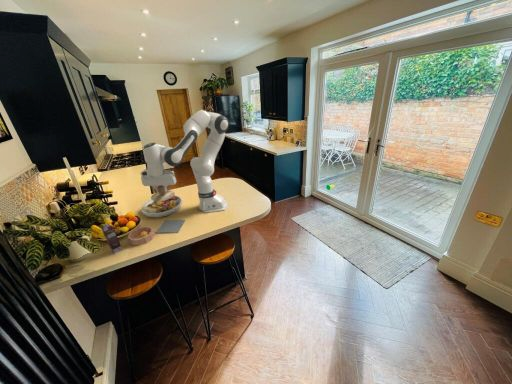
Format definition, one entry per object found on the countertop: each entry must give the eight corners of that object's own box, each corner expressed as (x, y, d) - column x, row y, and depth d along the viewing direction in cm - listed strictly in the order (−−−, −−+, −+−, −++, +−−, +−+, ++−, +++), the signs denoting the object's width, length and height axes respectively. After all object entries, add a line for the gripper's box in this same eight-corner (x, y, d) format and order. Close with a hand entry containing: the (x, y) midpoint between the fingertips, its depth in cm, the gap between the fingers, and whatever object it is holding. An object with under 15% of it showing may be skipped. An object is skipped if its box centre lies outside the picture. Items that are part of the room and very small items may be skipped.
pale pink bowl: (177, 191, 142) (175, 181, 140) (169, 200, 130) (167, 190, 127) (157, 191, 143) (154, 182, 140) (147, 201, 130) (144, 191, 128)
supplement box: (109, 248, 129) (99, 226, 122) (118, 243, 132) (109, 222, 125) (114, 254, 123) (104, 231, 117) (123, 249, 127) (114, 227, 120)
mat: (185, 220, 153) (185, 219, 153) (178, 232, 139) (177, 232, 139) (164, 220, 154) (164, 220, 153) (155, 233, 140) (155, 232, 140)
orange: (147, 237, 139) (150, 232, 138) (143, 240, 134) (147, 235, 133) (140, 233, 138) (143, 228, 137) (137, 237, 134) (140, 232, 133)
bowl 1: (158, 231, 142) (156, 226, 141) (147, 244, 130) (146, 239, 128) (137, 231, 143) (135, 226, 141) (125, 245, 130) (123, 240, 129)
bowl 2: (174, 219, 155) (171, 210, 152) (134, 219, 158) (131, 210, 154) (188, 200, 182) (186, 191, 179) (154, 200, 185) (152, 192, 181)
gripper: (175, 168, 131) (179, 188, 137) (142, 169, 132) (148, 189, 138) (171, 171, 126) (176, 192, 132) (137, 173, 127) (143, 194, 133)
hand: (162, 191), depth 135 cm, fingers closed on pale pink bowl, 3 cm apart
